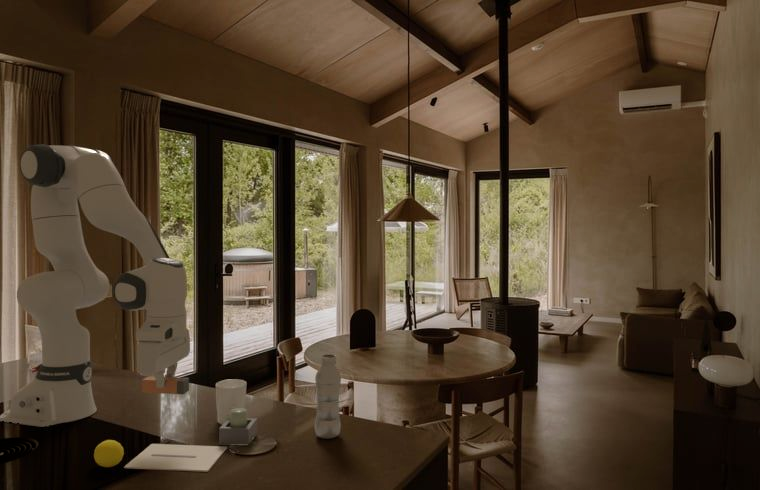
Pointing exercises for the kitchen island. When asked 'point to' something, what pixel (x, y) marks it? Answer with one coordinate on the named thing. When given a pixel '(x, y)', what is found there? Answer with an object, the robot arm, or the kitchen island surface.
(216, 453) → the paper
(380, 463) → the kitchen island surface
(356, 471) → the kitchen island surface
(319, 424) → the plastic bottle
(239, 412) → the button
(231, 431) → the button housing
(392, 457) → the kitchen island surface
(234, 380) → the white cup
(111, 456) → the lemon
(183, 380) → the block
